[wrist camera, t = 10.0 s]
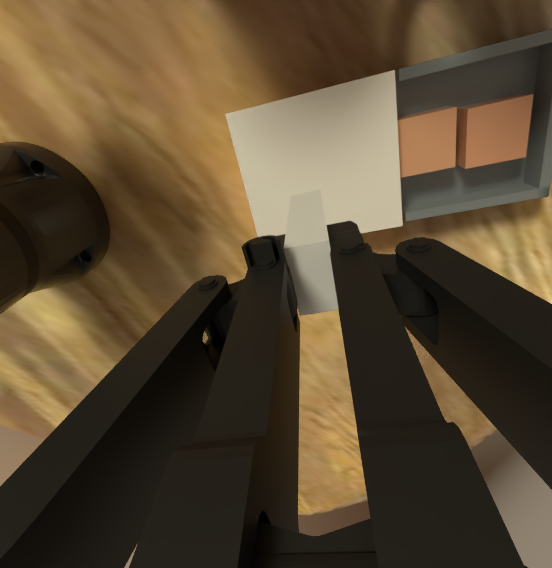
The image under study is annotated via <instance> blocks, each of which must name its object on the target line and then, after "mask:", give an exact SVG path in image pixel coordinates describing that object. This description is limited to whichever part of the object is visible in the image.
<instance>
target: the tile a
mask: <svg viewBox="0 0 552 568" xmlns="http://www.w3.org/2000/svg"><path fill="white" fill-rule="evenodd" d="M456 120H457V107H451V106H444V107H440V108H435V109H431V110H427V111H422V112H418V113H414V114H410V115H405V116H401V117H397V123H398V143H399V162H400V178H402V177H407V176H412V175H417V174H422V173H427V172H432V171H437V170H442V169H447V168H452V167H455V160H456Z"/></svg>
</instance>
